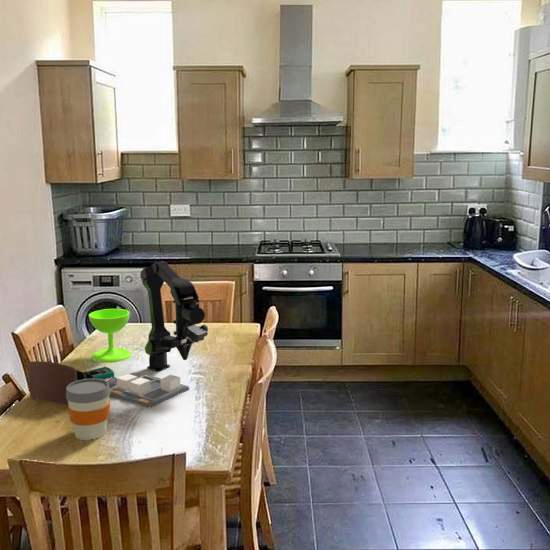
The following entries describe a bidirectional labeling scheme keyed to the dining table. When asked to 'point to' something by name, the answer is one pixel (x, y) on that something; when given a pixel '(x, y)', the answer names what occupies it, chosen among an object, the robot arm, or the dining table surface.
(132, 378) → the white block
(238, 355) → the dining table surface
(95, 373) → the digital multimeter
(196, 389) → the dining table surface
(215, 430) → the dining table surface
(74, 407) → the reusable coffee cup
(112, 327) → the wineglass
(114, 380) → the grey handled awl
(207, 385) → the dining table surface
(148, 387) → the cream block
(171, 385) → the cream square block
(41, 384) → the letter holder
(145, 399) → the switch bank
